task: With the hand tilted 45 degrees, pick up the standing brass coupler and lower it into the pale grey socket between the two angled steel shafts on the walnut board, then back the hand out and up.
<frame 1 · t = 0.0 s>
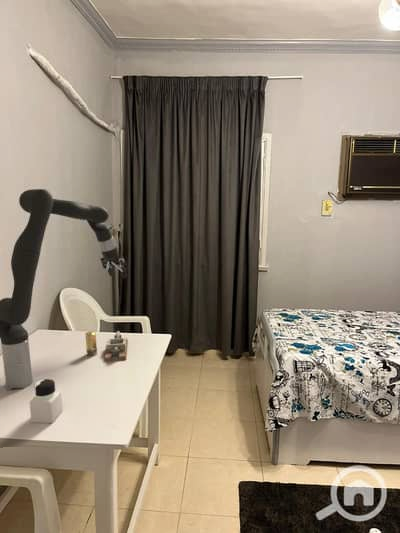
hand: (118, 276, 188), 31 cm above the table, tool tilted 20°, fingers open, 8 cm apart
shaft rig: (117, 350, 176), on the table
brass coupler: (92, 354, 173), on the table
medicine bottle: (47, 417, 123), on the table
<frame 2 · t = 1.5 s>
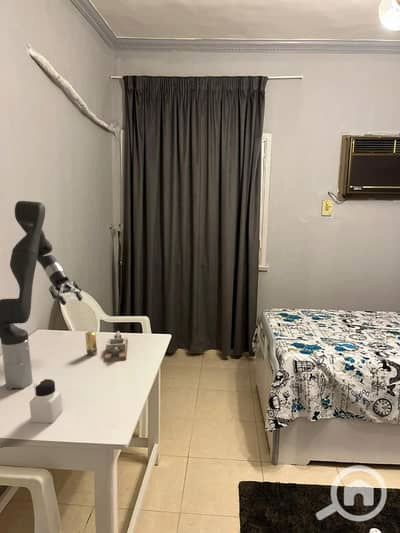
hand: (73, 302, 175), 23 cm above the table, tool tilted 45°, fingers open, 8 cm apart
nothing on the table moved.
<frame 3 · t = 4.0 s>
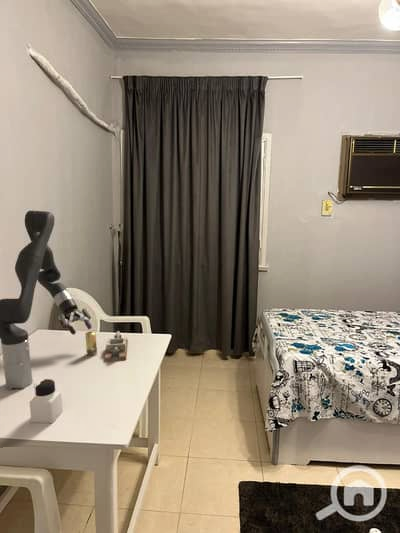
hand: (82, 330, 174), 10 cm above the table, tool tilted 45°, fingers open, 8 cm apart
nothing on the table moved.
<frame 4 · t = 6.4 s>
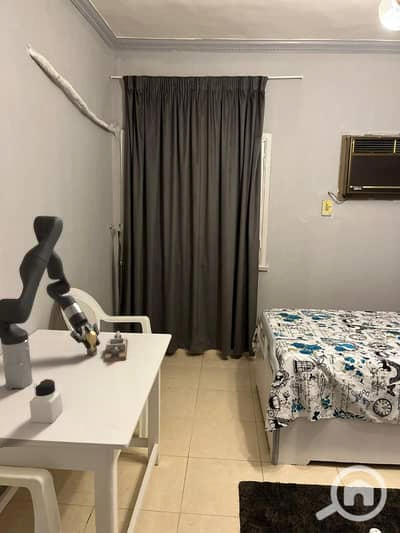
hand: (94, 346, 171), 4 cm above the table, tool tilted 45°, fingers closed on brass coupler, 4 cm apart
brass coupler: (92, 354, 173), on the table, touching gripper
everything else where it was.
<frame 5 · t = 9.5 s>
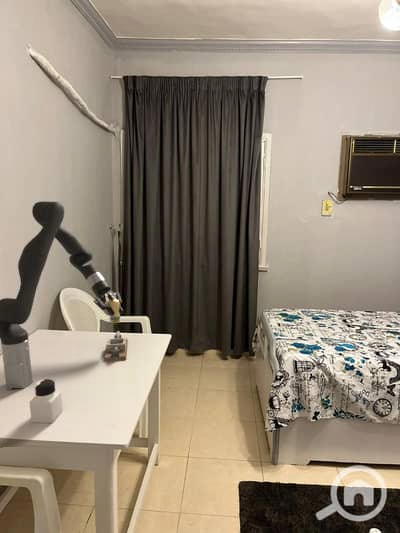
hand: (117, 313, 172), 18 cm above the table, tool tilted 45°, fingers closed on brass coupler, 4 cm apart
brass coupler: (115, 321, 174), point 14 cm above the table, touching gripper
everything else where it was.
when the fingers open (6 cm above the table, at t = 12.6 s): brass coupler stays where it is, resting on shaft rig.
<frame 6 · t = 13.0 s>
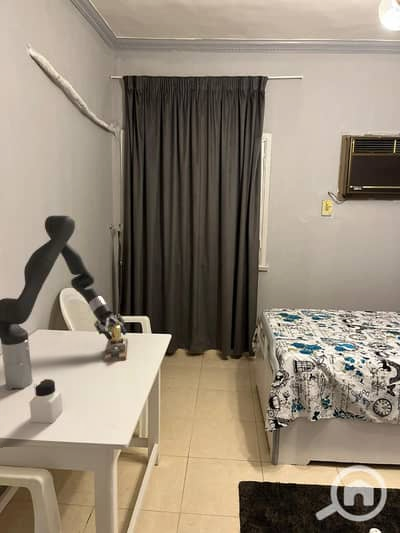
hand: (118, 336, 174), 7 cm above the table, tool tilted 45°, fingers open, 8 cm apart
brass coupler: (116, 347, 176), point 2 cm above the table, touching shaft rig
everything else where it was.
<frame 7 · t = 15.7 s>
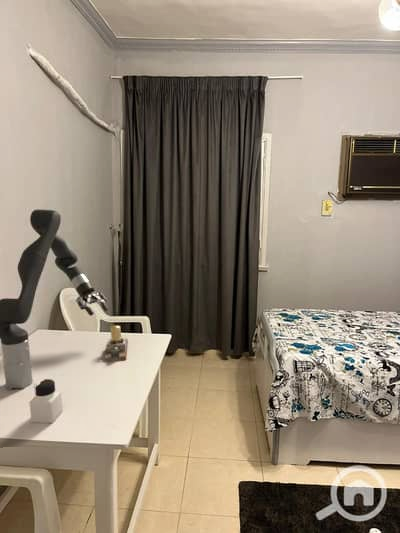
hand: (99, 312, 180), 17 cm above the table, tool tilted 45°, fingers open, 8 cm apart
nothing on the table moved.
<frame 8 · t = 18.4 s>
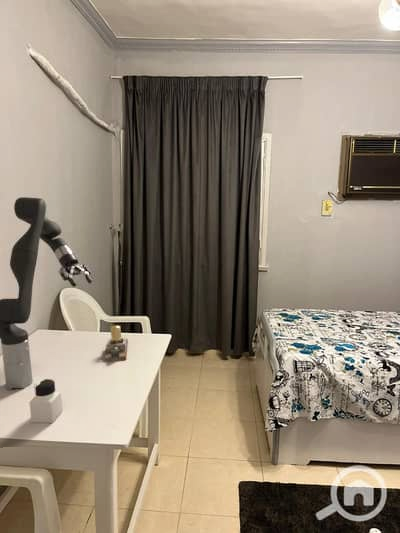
hand: (83, 284, 176), 31 cm above the table, tool tilted 45°, fingers open, 8 cm apart
nothing on the table moved.
at the end: brass coupler 0.1 cm off-centre on the shaft rig, point 1.5 cm above the shaft rig's base; brass coupler tilted 0°; the gripper is holding nothing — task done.
